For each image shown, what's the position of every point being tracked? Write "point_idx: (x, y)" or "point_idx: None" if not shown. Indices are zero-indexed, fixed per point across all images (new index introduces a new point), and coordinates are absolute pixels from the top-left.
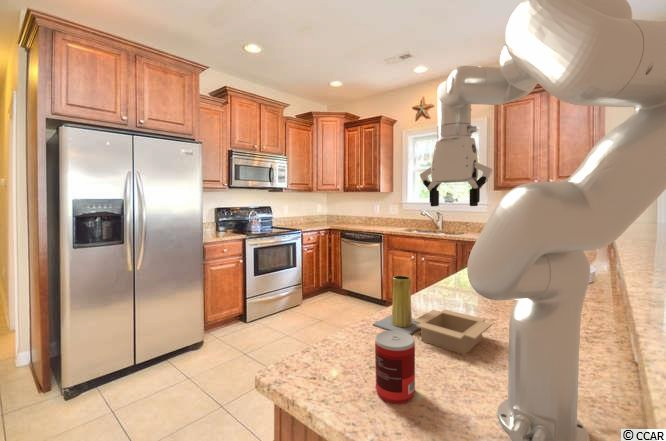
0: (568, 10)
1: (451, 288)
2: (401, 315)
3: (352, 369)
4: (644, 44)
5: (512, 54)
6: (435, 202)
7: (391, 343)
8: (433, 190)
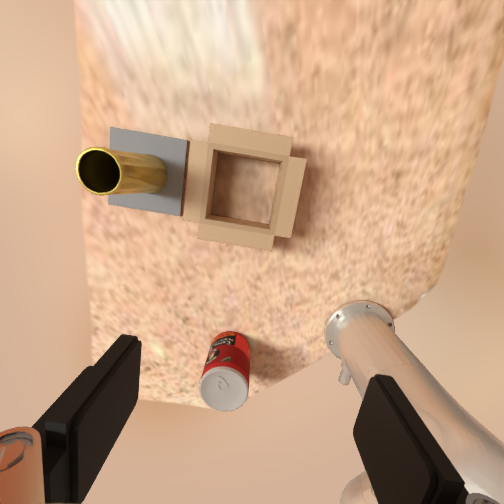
0: None
1: None
2: (148, 191)
3: (170, 335)
4: None
5: None
6: (129, 393)
7: (225, 398)
8: (67, 500)
